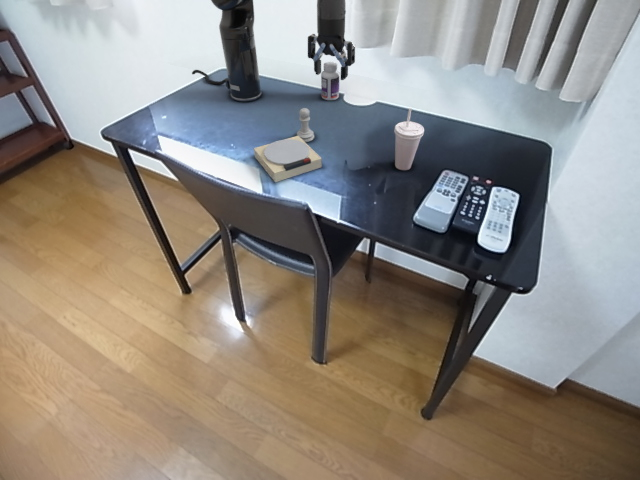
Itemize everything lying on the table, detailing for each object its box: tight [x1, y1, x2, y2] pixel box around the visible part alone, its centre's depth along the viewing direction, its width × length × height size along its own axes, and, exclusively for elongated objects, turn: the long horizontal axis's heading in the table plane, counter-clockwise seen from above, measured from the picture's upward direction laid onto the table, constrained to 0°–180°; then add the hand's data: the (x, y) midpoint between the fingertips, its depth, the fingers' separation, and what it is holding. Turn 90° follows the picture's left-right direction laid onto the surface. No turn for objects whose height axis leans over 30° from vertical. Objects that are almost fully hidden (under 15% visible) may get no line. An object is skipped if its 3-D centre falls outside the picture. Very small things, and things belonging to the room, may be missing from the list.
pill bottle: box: [320, 61, 340, 101], centre depth 111 cm, size 5×5×10 cm
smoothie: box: [393, 107, 425, 171], centre depth 83 cm, size 6×6×14 cm
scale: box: [253, 135, 323, 183], centre depth 88 cm, size 12×12×3 cm
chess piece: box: [296, 107, 315, 143], centre depth 95 cm, size 5×5×8 cm
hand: (330, 76), depth 110 cm, fingers open, 8 cm apart
